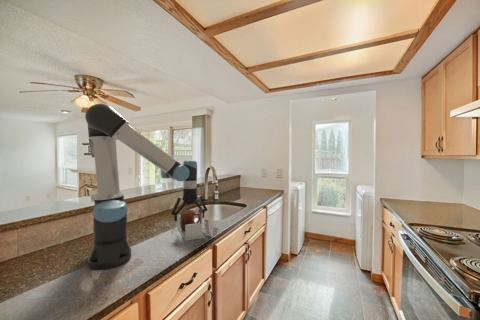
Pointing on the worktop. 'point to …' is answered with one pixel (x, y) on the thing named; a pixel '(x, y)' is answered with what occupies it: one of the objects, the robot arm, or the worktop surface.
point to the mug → (188, 218)
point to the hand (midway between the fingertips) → (189, 225)
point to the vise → (192, 230)
